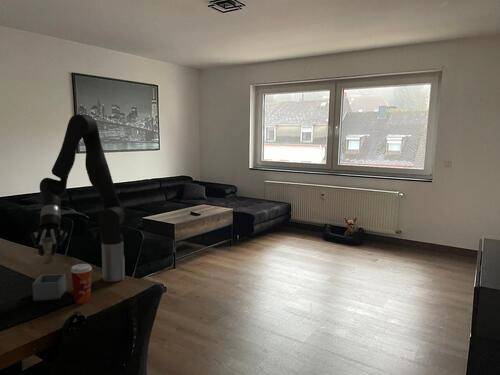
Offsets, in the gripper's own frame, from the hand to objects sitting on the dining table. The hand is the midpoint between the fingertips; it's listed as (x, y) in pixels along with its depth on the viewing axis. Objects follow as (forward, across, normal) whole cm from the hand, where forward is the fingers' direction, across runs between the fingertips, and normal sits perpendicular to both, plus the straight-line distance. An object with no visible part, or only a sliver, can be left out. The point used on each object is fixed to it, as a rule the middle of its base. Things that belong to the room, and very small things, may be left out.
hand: (47, 254), depth 145 cm
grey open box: (+11, 0, +14) cm, 18 cm away
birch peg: (+1, 0, +4) cm, 4 cm away
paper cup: (+18, +13, +7) cm, 23 cm away
